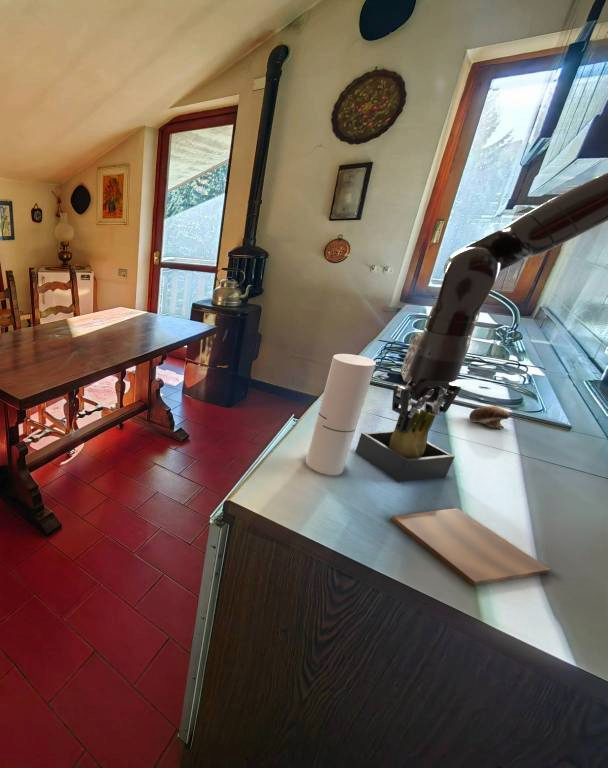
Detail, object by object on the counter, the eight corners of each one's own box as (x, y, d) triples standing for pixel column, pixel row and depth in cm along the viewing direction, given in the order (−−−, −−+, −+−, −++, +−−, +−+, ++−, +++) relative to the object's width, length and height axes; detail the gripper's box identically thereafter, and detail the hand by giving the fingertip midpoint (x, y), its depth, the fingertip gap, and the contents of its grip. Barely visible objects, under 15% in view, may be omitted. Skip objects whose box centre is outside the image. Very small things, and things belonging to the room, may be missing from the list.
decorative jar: (447, 390, 127) (468, 337, 121) (403, 382, 133) (421, 331, 126) (439, 378, 137) (459, 329, 130) (399, 372, 142) (415, 324, 136)
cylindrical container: (326, 456, 89) (355, 353, 80) (350, 475, 83) (385, 364, 73) (298, 459, 88) (325, 354, 78) (320, 478, 82) (352, 366, 72)
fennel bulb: (383, 456, 86) (399, 408, 82) (390, 450, 89) (407, 402, 85) (414, 469, 82) (433, 418, 78) (421, 461, 85) (440, 412, 80)
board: (454, 513, 72) (457, 507, 72) (547, 575, 60) (550, 569, 59) (390, 521, 70) (392, 515, 69) (471, 587, 57) (475, 581, 57)
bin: (397, 449, 93) (404, 429, 90) (445, 478, 82) (454, 456, 80) (354, 453, 91) (361, 432, 89) (398, 484, 80) (407, 461, 78)
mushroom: (521, 426, 98) (512, 402, 99) (480, 431, 101) (471, 407, 103) (507, 428, 105) (499, 405, 106) (469, 432, 108) (461, 410, 110)
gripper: (426, 362, 72) (398, 442, 78) (490, 358, 74) (458, 436, 81) (391, 350, 79) (368, 424, 85) (450, 347, 81) (424, 419, 87)
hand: (412, 429), depth 83 cm, fingers closed on fennel bulb, 4 cm apart
